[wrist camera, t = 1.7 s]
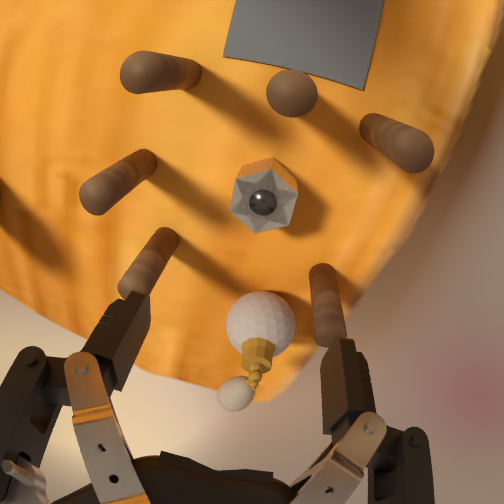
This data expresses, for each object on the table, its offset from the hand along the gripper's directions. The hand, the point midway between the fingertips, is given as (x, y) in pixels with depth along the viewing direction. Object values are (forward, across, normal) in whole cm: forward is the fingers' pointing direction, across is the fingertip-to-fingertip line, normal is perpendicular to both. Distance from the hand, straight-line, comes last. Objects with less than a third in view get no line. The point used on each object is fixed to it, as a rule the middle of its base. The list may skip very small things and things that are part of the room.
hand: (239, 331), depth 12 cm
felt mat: (+17, 0, -16) cm, 24 cm away
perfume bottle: (+18, -3, +15) cm, 23 cm away
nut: (+18, 0, 0) cm, 18 cm away
